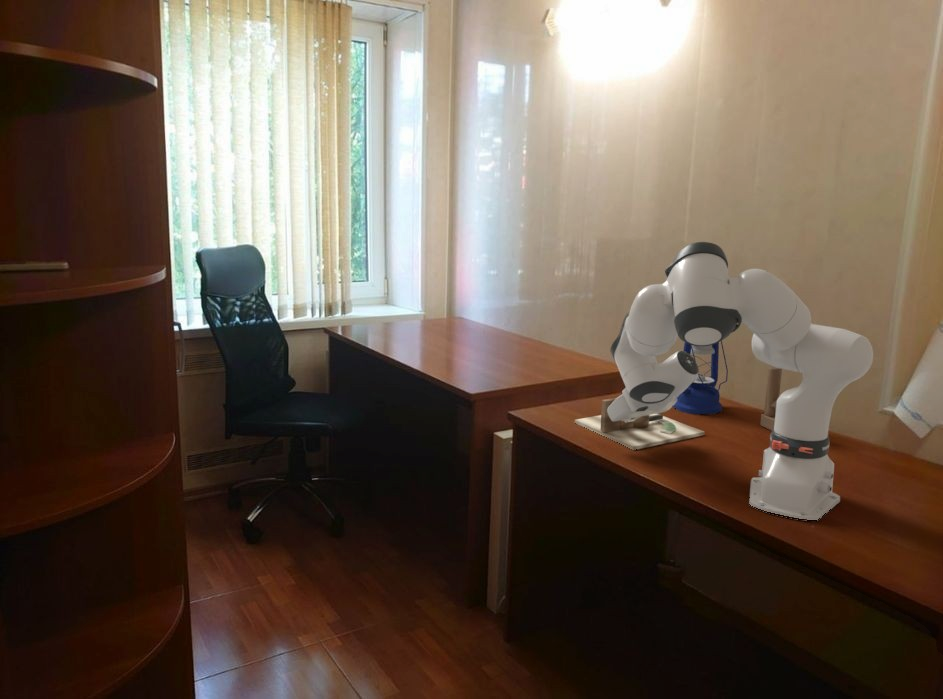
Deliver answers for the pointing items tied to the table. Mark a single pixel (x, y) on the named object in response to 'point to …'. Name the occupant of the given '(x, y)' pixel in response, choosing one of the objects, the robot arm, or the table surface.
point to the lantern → (702, 385)
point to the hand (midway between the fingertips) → (627, 419)
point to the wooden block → (771, 397)
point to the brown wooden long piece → (616, 425)
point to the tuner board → (644, 432)
